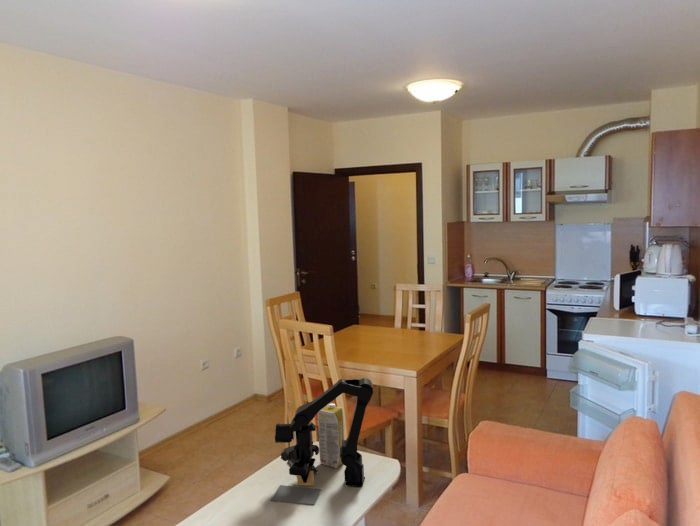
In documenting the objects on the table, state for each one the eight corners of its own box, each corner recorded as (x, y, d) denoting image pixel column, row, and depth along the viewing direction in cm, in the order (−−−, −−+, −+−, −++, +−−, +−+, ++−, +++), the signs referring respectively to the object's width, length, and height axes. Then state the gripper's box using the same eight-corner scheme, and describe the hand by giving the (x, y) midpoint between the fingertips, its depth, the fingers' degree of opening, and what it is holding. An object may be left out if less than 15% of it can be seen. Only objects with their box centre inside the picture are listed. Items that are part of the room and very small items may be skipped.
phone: (299, 476, 202) (286, 459, 215) (299, 479, 202) (287, 462, 215) (318, 471, 205) (305, 455, 219) (318, 473, 205) (305, 457, 219)
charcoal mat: (321, 489, 193) (321, 488, 193) (314, 505, 183) (314, 504, 183) (280, 486, 197) (280, 485, 197) (270, 501, 187) (270, 500, 187)
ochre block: (314, 483, 198) (313, 470, 197) (313, 485, 196) (312, 472, 196) (298, 482, 199) (298, 469, 198) (297, 484, 198) (296, 471, 197)
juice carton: (347, 461, 214) (345, 404, 211) (336, 470, 207) (334, 411, 204) (328, 456, 219) (326, 400, 216) (317, 464, 212) (314, 406, 209)
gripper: (291, 429, 206) (292, 467, 208) (274, 451, 188) (276, 493, 190) (318, 431, 204) (320, 469, 206) (304, 453, 186) (306, 495, 188)
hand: (305, 481), depth 197 cm, fingers closed on ochre block, 1 cm apart
